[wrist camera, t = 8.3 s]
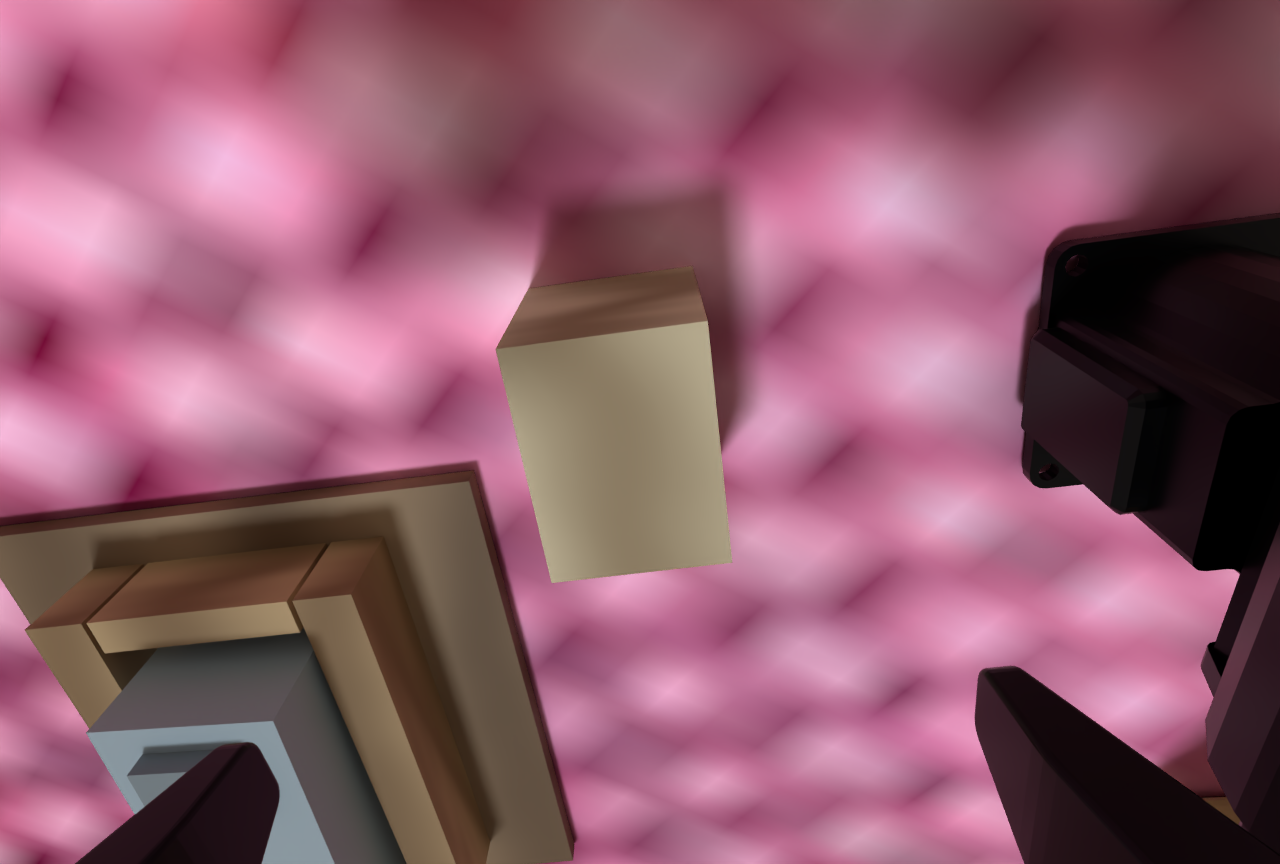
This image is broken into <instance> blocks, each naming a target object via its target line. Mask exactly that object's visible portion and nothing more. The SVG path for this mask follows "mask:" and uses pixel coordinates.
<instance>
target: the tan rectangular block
mask: <svg viewBox="0 0 1280 864" xmlns="http://www.w3.org/2000/svg"><path fill="white" fill-rule="evenodd" d="M496 353H497V357H498V361H499V365H500V369H501V374H502V378H503V382H504V386H505V390H506V394H507V399H508V403H509V407H510V411H511V415H512V419H513V424H514V428H515V432H516V436H517V440H518V444H519V449H520V453H521V457H522V461H523V465H524V470H525V474H526V478H527V482H528V486H529V490H530V495H531V499H532V503H533V507H534V511H535V515H536V520H537V524H538V528H539V532H540V536H541V540H542V545H543V549H544V553H545V557H546V561H547V566H548V570H549V574H550V578H551V582H552V583H555V582H564V581H573V580H582V579H591V578H600V577H609V576H618V575H626V574H635V573H644V572H653V571H662V570H671V569H680V568H689V567H698V566H707V565H715V564H724V563H732V556H731V546H730V536H729V527H728V517H727V507H726V497H725V487H724V477H723V467H722V457H721V447H720V437H719V427H718V417H717V408H716V398H715V388H714V378H713V368H712V358H711V348H710V338H709V328H708V320H707V316H706V313H705V309H704V306H703V302H702V299H701V295H700V292H699V288H698V284H697V281H696V277H695V274H694V270H693V267H692V266H687V267H680V268H673V269H666V270H659V271H651V272H644V273H637V274H630V275H622V276H615V277H608V278H601V279H594V280H586V281H579V282H572V283H565V284H558V285H550V286H543V287H536V288H529V289H528V291H527V292H526V294H525V296H524V298H523V300H522V302H521V303H520V305H519V307H518V309H517V311H516V313H515V314H514V316H513V318H512V320H511V322H510V324H509V326H508V327H507V329H506V331H505V333H504V335H503V337H502V338H501V340H500V342H499V344H498V346H497V348H496Z"/></svg>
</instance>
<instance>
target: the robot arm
mask: <svg viewBox="0 0 1280 864" xmlns="http://www.w3.org/2000/svg"><path fill="white" fill-rule="evenodd" d="M1075 255H1078V258H1079V261H1078V264H1077V266H1076V267H1075V268H1074V269H1073V270H1072V271H1069V272H1066V269H1065V266H1066V264H1067V261H1068V260H1069V259H1070V258H1071V257H1073V256H1075ZM1021 427H1022V429H1023V430H1024V431H1025V432H1026V440H1025V448H1024V457H1023V466H1022V468H1023V474H1024V475H1025V476H1026V478H1027V479H1028V480H1029V481H1030V482H1031V483H1032V484H1033V485H1035V486H1037V487H1039V488H1054V487H1063V486H1072V485H1081V484H1084V485H1085V486H1086V487H1087V488H1088V489H1089V490H1090V491H1092V492H1093V493H1094V494H1095V495H1096V496H1097V497H1098V498H1099V499H1100V500H1101V501H1103V502H1104V503H1105V504H1106V505H1107V506H1108V507H1109V508H1111V509H1112V510H1113V511H1114V512H1115V513H1117V514H1119V515H1122V514H1131V513H1133V514H1134V515H1135V516H1136V517H1137V518H1139V519H1140V520H1141V521H1142V522H1143V523H1144V524H1145V525H1147V526H1148V527H1149V528H1150V529H1151V530H1152V531H1153V532H1155V533H1156V534H1157V535H1158V536H1159V537H1160V538H1161V539H1163V540H1164V541H1165V542H1166V543H1167V544H1168V545H1169V546H1171V547H1172V548H1173V549H1174V550H1175V551H1176V552H1177V553H1179V554H1180V555H1181V556H1182V557H1183V558H1184V559H1185V560H1187V561H1188V562H1189V563H1190V564H1191V565H1192V566H1193V567H1195V568H1196V569H1197V570H1200V571H1211V570H1221V569H1234V570H1235V571H1237V572H1238V573H1239V574H1240V576H1239V579H1238V582H1237V584H1236V587H1235V590H1234V593H1233V595H1232V598H1231V601H1230V604H1229V606H1228V609H1227V612H1226V615H1225V618H1224V620H1223V623H1222V626H1221V629H1220V631H1219V634H1218V637H1217V640H1216V642H1212V643H1209V644H1208V645H1207V648H1206V651H1205V654H1204V657H1203V659H1202V662H1201V669H1202V672H1203V674H1204V676H1205V679H1206V681H1207V683H1208V686H1209V688H1210V690H1211V693H1212V695H1213V697H1214V698H1213V701H1212V704H1211V706H1210V709H1209V712H1208V714H1207V717H1206V720H1205V723H1206V740H1207V757H1208V762H1209V764H1210V766H1211V768H1212V770H1213V772H1214V774H1215V776H1216V778H1217V780H1218V782H1219V784H1220V786H1221V787H1222V789H1223V791H1224V793H1225V795H1226V797H1227V799H1228V801H1229V803H1230V805H1231V807H1232V809H1233V811H1234V813H1235V814H1236V815H1237V817H1238V818H1239V819H1240V822H1239V825H1238V824H1237V823H1235V822H1234V821H1232V820H1231V819H1230V818H1228V817H1227V816H1225V815H1224V814H1223V813H1221V812H1220V811H1218V810H1217V809H1216V808H1214V807H1213V806H1212V805H1210V804H1209V803H1207V802H1206V801H1205V800H1203V799H1202V798H1200V797H1199V796H1198V795H1196V794H1195V793H1193V792H1192V791H1191V790H1189V789H1188V788H1187V787H1185V786H1184V785H1182V784H1181V783H1180V782H1178V781H1177V780H1175V779H1174V778H1173V777H1171V776H1170V775H1168V774H1167V773H1166V772H1164V771H1163V770H1162V769H1160V768H1159V767H1157V766H1156V765H1155V764H1153V763H1152V762H1150V761H1149V760H1148V759H1146V758H1145V757H1143V756H1142V755H1141V754H1139V753H1138V752H1137V751H1135V750H1134V749H1132V748H1131V747H1130V746H1128V745H1127V744H1125V743H1124V742H1123V741H1121V740H1120V739H1118V738H1117V737H1116V736H1114V735H1113V734H1111V733H1110V732H1109V731H1107V730H1106V729H1105V728H1103V727H1102V726H1100V725H1099V724H1098V723H1096V722H1095V721H1093V720H1092V719H1091V718H1089V717H1088V716H1086V715H1085V714H1084V713H1082V712H1081V711H1080V710H1078V709H1077V708H1075V707H1074V706H1073V705H1071V704H1070V703H1068V702H1067V701H1066V700H1064V699H1063V698H1061V697H1060V696H1059V695H1057V694H1056V693H1055V692H1053V691H1052V690H1050V689H1049V688H1048V687H1046V686H1045V685H1043V684H1042V683H1041V682H1039V681H1038V680H1036V679H1035V678H1034V677H1032V676H1031V675H1030V674H1028V673H1027V672H1025V671H1024V670H1022V669H1021V668H1018V667H1016V666H1003V667H993V668H985V669H983V670H981V671H980V673H979V676H978V683H977V695H976V707H975V726H976V732H977V735H978V739H979V742H980V744H981V747H982V750H983V753H984V755H985V758H986V761H987V763H988V766H989V769H990V772H991V774H992V777H993V780H994V783H995V785H996V788H997V791H998V794H999V796H1000V799H1001V802H1002V804H1003V807H1004V810H1005V813H1006V815H1007V818H1008V821H1009V824H1010V826H1011V829H1012V832H1013V835H1014V837H1015V840H1016V843H1017V845H1018V848H1019V851H1020V853H1021V856H1022V859H1023V861H1024V864H1280V213H1276V214H1268V215H1260V216H1253V217H1245V218H1238V219H1230V220H1222V221H1215V222H1207V223H1199V224H1192V225H1184V226H1176V227H1169V228H1161V229H1153V230H1146V231H1138V232H1130V233H1123V234H1115V235H1107V236H1100V237H1092V238H1085V239H1077V240H1070V241H1067V242H1064V243H1061V244H1060V245H1058V246H1057V247H1056V248H1054V249H1053V251H1052V252H1051V253H1050V255H1049V256H1048V259H1047V262H1046V267H1045V276H1044V284H1043V293H1042V302H1041V310H1040V319H1039V327H1038V331H1037V332H1036V333H1035V335H1034V336H1033V337H1032V339H1031V341H1030V350H1029V359H1028V368H1027V377H1026V386H1025V395H1024V403H1023V412H1022V421H1021ZM1047 464H1051V465H1050V468H1049V469H1048V470H1046V471H1045V472H1042V473H1039V472H1040V469H1041V468H1042V467H1043V466H1045V465H1047ZM279 799H280V789H279V784H278V782H277V780H276V778H275V776H274V774H273V772H272V771H271V769H270V767H269V765H268V763H267V761H266V759H265V758H264V756H263V754H262V752H261V750H260V748H259V747H258V746H257V745H256V744H254V743H252V742H243V743H233V744H225V745H222V746H219V747H217V748H216V749H214V750H213V751H212V752H210V753H209V754H208V755H207V756H206V757H204V758H203V759H202V760H201V761H200V762H198V763H197V764H196V765H195V766H193V767H192V768H191V769H190V770H189V771H187V772H186V773H185V774H184V775H182V776H181V777H180V778H179V779H178V780H176V781H175V782H174V783H173V784H171V785H170V786H169V787H168V788H167V789H165V790H164V791H163V792H162V793H161V794H159V795H158V796H157V797H156V798H154V799H153V800H152V801H151V802H150V803H148V804H147V805H146V806H145V807H143V808H142V809H141V810H140V811H139V812H137V813H136V814H135V815H134V816H132V817H131V818H130V819H129V820H128V821H126V822H125V823H124V824H123V825H122V826H120V827H119V828H118V829H117V830H115V831H114V832H113V833H112V834H111V835H109V836H108V837H107V838H106V839H104V840H103V841H102V842H101V843H100V844H98V845H97V846H96V847H95V848H93V849H92V850H91V851H90V852H89V853H87V854H86V855H85V856H84V857H83V858H81V859H80V860H79V861H78V862H76V863H75V864H262V861H263V858H264V854H265V851H266V847H267V844H268V840H269V837H270V833H271V830H272V826H273V823H274V819H275V816H276V812H277V809H278V805H279Z"/></svg>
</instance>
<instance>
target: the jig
mask: <svg viewBox="0 0 1280 864" xmlns="http://www.w3.org/2000/svg"><path fill="white" fill-rule="evenodd" d="M0 578H1V580H2V581H3V583H4V584H5V586H6V588H7V589H8V591H9V592H10V594H11V595H12V597H13V598H14V600H15V601H16V603H17V604H18V606H19V608H20V609H21V611H22V612H23V614H24V615H25V617H26V618H27V620H28V621H29V623H30V624H31V625H30V626H29V627H27V628H26V629H25V631H26V633H27V635H28V636H29V638H30V639H31V641H32V642H33V644H34V645H35V647H36V648H37V650H38V651H39V653H40V654H41V656H42V657H43V659H44V660H45V662H46V663H47V665H48V666H49V668H50V669H51V671H52V673H53V674H54V676H55V677H56V679H57V680H58V682H59V683H60V685H61V686H62V688H63V689H64V691H65V692H66V694H67V695H68V697H69V698H70V700H71V701H72V703H73V704H74V706H75V707H76V709H77V711H78V712H79V714H80V715H81V717H82V718H83V720H84V721H85V723H86V724H87V726H88V727H89V729H90V728H91V727H92V725H93V724H94V723H95V722H96V721H97V720H98V718H99V717H100V716H101V715H102V714H103V712H104V711H105V710H106V709H107V708H108V707H109V705H110V704H111V703H112V702H113V701H114V700H115V698H116V697H117V696H118V695H119V694H120V692H121V691H122V690H123V689H124V688H125V687H126V685H127V684H128V683H129V682H130V681H131V680H132V678H133V677H134V676H135V675H136V674H137V672H138V671H139V670H140V669H141V668H142V667H143V665H144V664H145V663H146V662H147V661H148V660H149V658H150V657H151V656H152V655H153V654H154V652H155V651H156V650H157V649H158V648H161V647H170V646H179V645H189V644H198V643H208V642H217V641H226V640H236V639H245V638H255V637H264V636H273V635H283V634H292V633H300V632H301V630H302V629H303V627H304V629H305V632H306V634H307V636H308V638H309V641H310V643H311V645H312V648H313V650H314V652H315V655H316V657H317V659H318V661H319V664H320V666H321V668H322V671H323V673H324V675H325V677H326V680H327V682H328V684H329V687H330V689H331V691H332V693H333V696H334V698H335V700H336V703H337V705H338V707H339V710H340V712H341V714H342V716H343V719H344V721H345V723H346V726H347V728H348V730H349V732H350V735H351V737H352V739H353V742H354V744H355V746H356V748H357V751H358V753H359V755H360V758H361V760H362V762H363V765H364V767H365V769H366V771H367V774H368V776H369V778H370V781H371V783H372V785H373V787H374V790H375V792H376V794H377V797H378V799H379V801H380V804H381V806H382V808H383V810H384V813H385V815H386V817H387V820H388V822H389V824H390V826H391V829H392V831H393V833H394V836H395V838H396V840H397V842H398V845H399V847H400V849H401V852H402V854H403V856H404V859H405V861H406V863H407V864H537V863H548V862H560V861H572V860H573V855H574V841H573V838H572V834H571V830H570V827H569V823H568V819H567V815H566V812H565V808H564V804H563V801H562V797H561V793H560V789H559V786H558V782H557V778H556V774H555V771H554V767H553V763H552V760H551V756H550V752H549V748H548V745H547V741H546V737H545V734H544V730H543V726H542V722H541V719H540V715H539V711H538V708H537V704H536V700H535V696H534V693H533V689H532V685H531V681H530V678H529V674H528V670H527V667H526V663H525V659H524V655H523V652H522V648H521V644H520V641H519V637H518V633H517V629H516V626H515V622H514V618H513V615H512V611H511V607H510V603H509V600H508V596H507V592H506V589H505V585H504V581H503V577H502V574H501V570H500V566H499V562H498V559H497V555H496V551H495V548H494V544H493V540H492V536H491V533H490V529H489V525H488V522H487V518H486V514H485V510H484V507H483V503H482V499H481V496H480V492H479V488H478V484H477V481H476V477H475V473H474V470H472V471H464V472H455V473H447V474H438V475H430V476H421V477H413V478H404V479H396V480H388V481H379V482H371V483H362V484H354V485H345V486H337V487H328V488H320V489H311V490H303V491H294V492H286V493H278V494H269V495H261V496H252V497H244V498H235V499H227V500H218V501H210V502H201V503H193V504H184V505H176V506H168V507H159V508H151V509H142V510H134V511H125V512H117V513H108V514H100V515H91V516H83V517H75V518H66V519H58V520H49V521H41V522H32V523H24V524H15V525H7V526H0Z"/></svg>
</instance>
